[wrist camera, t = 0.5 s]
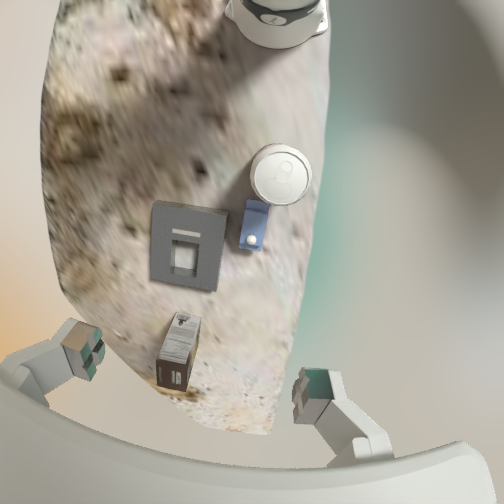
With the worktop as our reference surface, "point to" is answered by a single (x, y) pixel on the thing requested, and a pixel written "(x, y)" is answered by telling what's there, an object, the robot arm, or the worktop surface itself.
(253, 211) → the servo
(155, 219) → the plate
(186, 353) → the coffee box
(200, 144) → the worktop surface
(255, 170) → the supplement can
